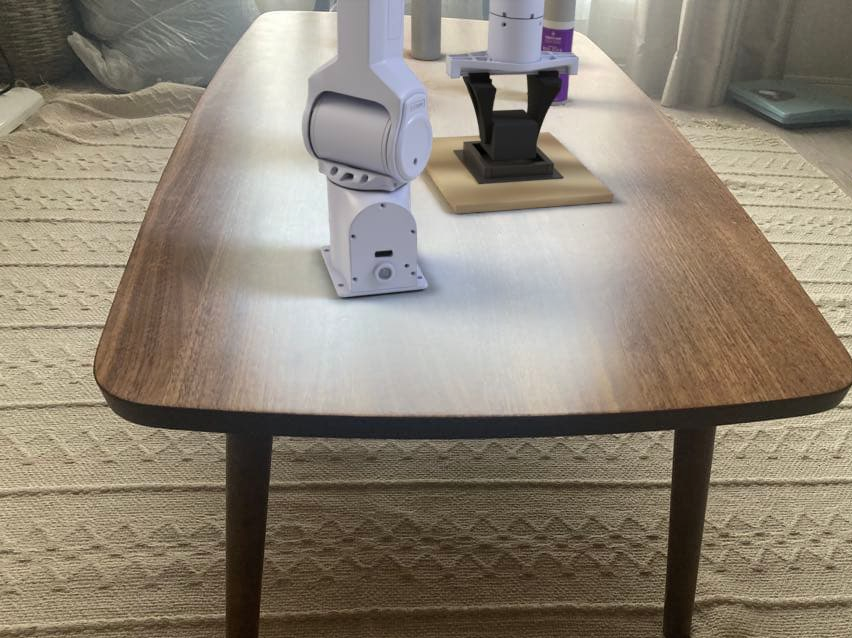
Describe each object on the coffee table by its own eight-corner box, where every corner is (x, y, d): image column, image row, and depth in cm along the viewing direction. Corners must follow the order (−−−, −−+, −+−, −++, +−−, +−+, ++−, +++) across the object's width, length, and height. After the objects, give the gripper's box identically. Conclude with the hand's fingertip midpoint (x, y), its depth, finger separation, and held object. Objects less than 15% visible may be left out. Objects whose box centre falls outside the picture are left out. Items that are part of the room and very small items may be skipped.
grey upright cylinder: (406, 57, 143) (406, -15, 137) (418, 50, 147) (418, -20, 141) (433, 62, 142) (434, -10, 136) (444, 55, 146) (446, -16, 140)
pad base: (612, 202, 103) (615, 180, 101) (455, 214, 97) (456, 191, 96) (548, 139, 118) (550, 119, 116) (409, 146, 112) (409, 126, 111)
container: (538, 106, 129) (548, -11, 120) (530, 95, 132) (538, -19, 124) (571, 105, 130) (582, -10, 121) (561, 95, 134) (572, -18, 125)
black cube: (535, 158, 105) (538, 123, 103) (493, 161, 103) (495, 125, 101) (521, 143, 109) (523, 109, 106) (480, 145, 107) (481, 110, 105)
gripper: (566, 3, 103) (555, 125, 111) (439, 3, 98) (437, 130, 106) (591, 19, 98) (578, 146, 105) (457, 20, 93) (454, 152, 101)
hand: (508, 139), depth 105 cm, fingers closed on black cube, 5 cm apart
